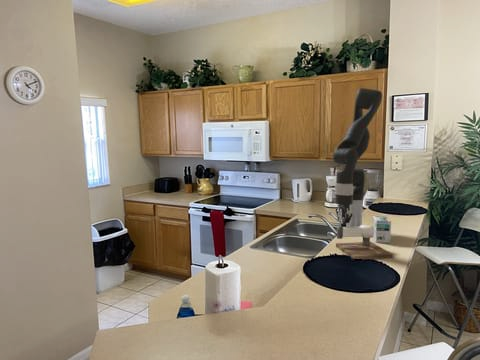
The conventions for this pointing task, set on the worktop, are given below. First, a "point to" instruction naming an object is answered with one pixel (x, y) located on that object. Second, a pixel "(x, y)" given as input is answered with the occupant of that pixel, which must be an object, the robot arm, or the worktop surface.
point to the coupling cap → (355, 231)
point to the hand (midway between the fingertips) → (343, 231)
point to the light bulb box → (381, 229)
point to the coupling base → (363, 250)
